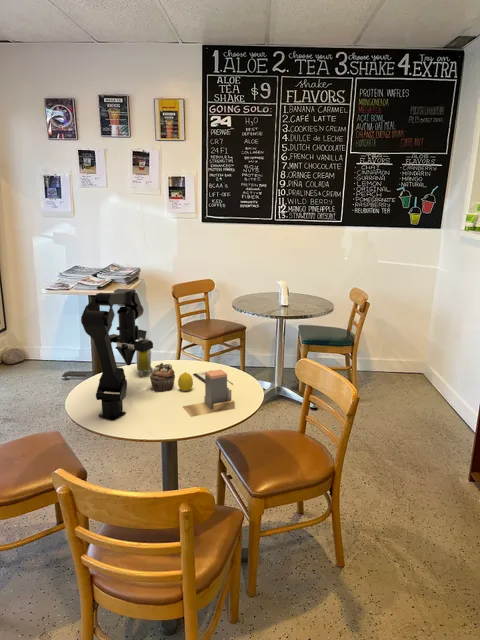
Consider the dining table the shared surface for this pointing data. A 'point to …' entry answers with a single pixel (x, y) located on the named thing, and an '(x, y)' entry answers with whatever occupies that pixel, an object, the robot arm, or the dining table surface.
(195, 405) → the wooden stand
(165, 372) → the cupcake
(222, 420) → the dining table surface
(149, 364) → the alarm clock
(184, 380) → the lemon
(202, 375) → the chocolate bar
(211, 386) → the plug block
